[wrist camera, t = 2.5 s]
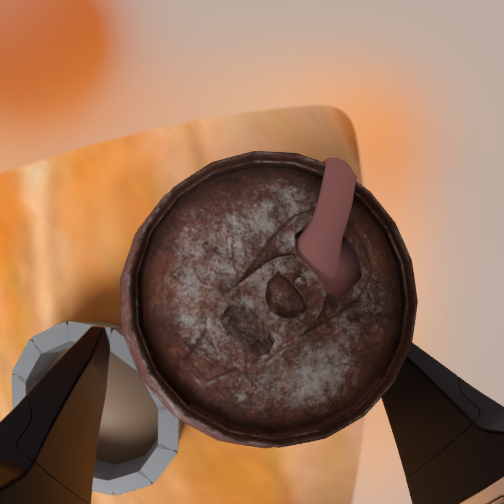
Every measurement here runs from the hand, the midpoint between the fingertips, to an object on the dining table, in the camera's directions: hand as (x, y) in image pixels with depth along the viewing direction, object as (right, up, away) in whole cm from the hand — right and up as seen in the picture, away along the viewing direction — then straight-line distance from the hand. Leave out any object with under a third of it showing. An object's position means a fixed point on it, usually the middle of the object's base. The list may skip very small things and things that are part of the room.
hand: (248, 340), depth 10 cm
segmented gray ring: (-9, -6, +6) cm, 13 cm away
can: (-2, -1, +9) cm, 9 cm away
